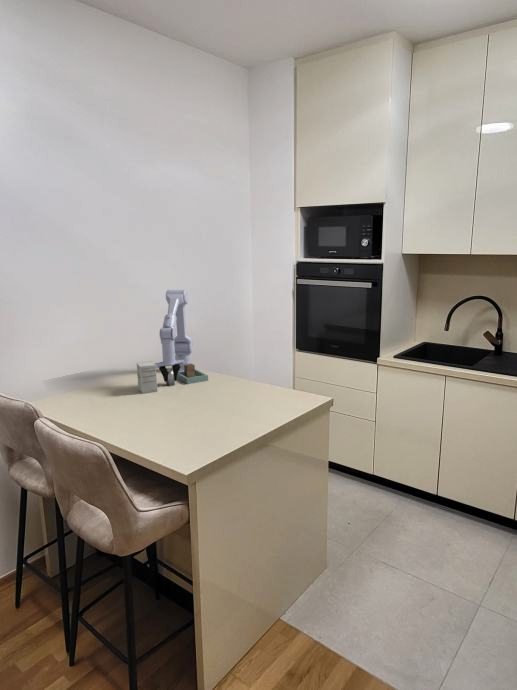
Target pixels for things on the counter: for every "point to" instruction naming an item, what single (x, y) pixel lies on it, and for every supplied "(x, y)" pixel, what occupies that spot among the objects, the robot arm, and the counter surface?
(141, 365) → the supplement box
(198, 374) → the parts tray
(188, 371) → the walnut block
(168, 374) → the grey peg
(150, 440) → the counter surface
